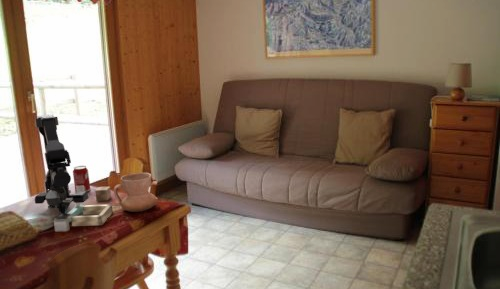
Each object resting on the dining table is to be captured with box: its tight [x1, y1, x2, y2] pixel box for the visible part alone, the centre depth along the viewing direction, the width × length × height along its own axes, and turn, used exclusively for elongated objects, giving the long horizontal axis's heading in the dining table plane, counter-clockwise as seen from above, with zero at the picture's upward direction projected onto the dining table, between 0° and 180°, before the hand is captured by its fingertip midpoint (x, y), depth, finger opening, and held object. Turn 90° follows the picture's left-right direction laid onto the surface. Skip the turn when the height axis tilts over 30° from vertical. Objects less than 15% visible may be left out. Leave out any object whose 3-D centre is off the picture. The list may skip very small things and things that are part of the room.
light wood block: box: [94, 186, 112, 202], centre depth 190 cm, size 5×5×5 cm
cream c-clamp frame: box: [70, 203, 114, 227], centre depth 167 cm, size 12×13×4 cm
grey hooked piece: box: [53, 212, 84, 232], centre depth 166 cm, size 5×20×5 cm, turn 0°
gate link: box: [67, 203, 84, 223], centre depth 167 cm, size 17×4×5 cm, turn 178°
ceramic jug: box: [113, 172, 158, 213], centre depth 176 cm, size 18×14×14 cm
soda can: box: [72, 165, 91, 193], centre depth 201 cm, size 7×7×12 cm
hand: (64, 218), depth 165 cm, fingers closed
